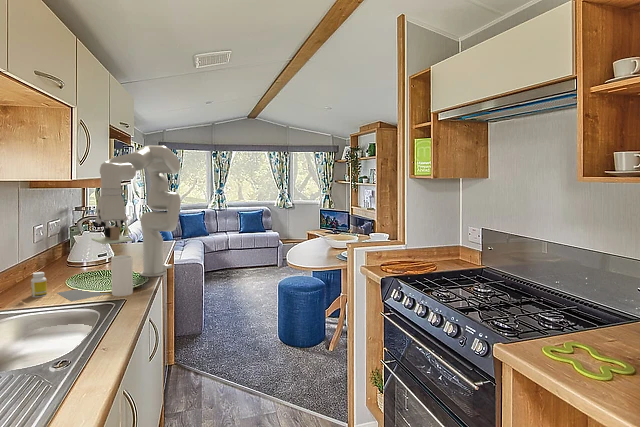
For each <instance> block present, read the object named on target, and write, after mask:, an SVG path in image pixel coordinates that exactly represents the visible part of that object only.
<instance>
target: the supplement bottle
mask: <svg viewBox="0 0 640 427" xmlns="http://www.w3.org/2000/svg"><path fill="white" fill-rule="evenodd" d="M32 277H33V278H31V279H30V290H31V291H30V292H31V298H42V297H45V296H47V295H48V286H47V284H48V283H47V278H46V277H45V272H44V271H37V272H33V273H32Z"/></svg>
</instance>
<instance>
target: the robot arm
mask: <svg viewBox="0 0 640 427" xmlns="http://www.w3.org/2000/svg"><path fill="white" fill-rule="evenodd" d="M179 159H180V158H178V157H177V155H176V154H175V153H174V152H173V151H172V150H171V149H170V148H168V147H167V146H165V145H145V146H142V147H140V148H138V149H137V150H135V151H133V152H131V153H126V154H123V155H119V156H115V157H111V158H109V159H107V160H105V161H104V162H102V163H101V164H100V167H99V174H100V195H99V197H98V200H97V208H96V218H95V221H94V222H95V223H97V224H98V225H99V224H100V225H101V226H102V227H103V228H104V229H103V230H104V232H103V233H104V237H105V236H106V237H108V238H109V237H110V228H109V226H110V221H114V226H115V227H119V235H120V234H121V232H120V231H121V226H122V225H123V224H124V223H125V222H127V221H128V220H129V218H128V217H127V214H126V206H125V205H126V204H125V200H124V196H123V195H122V194H124V193H125V190H124V189H122V181H131V180H132V179H135V177H136V174H137V172H138V171H142V170H144V169H145V168H146V171H147V173H148V175H149V178H150V189H149V192H148V198H147V207H148V208H149V209H151V210H155V211H146V212H144V213H142V215H140V216H141V217H140V226H141V227H140V228H141V231H142V262H143V263H142V266H143V267H142V268H143V270H141V271H140V272H139V276H141V277H148V278H149V277H150V278H155V277H162V276H165V275H166V274H167V272H168V271H167V269H172V268H173V265H172V263H171V264H165V263H164V239H163V236H162V234H161V232H171V233H172V232H174V231H176V229H177V227H178V221H179V216H180V210H181V204H182V203H181V202H182V201H181V197H180V194H178V192H176V191H175V192H173V191H169V185H170V184H169V181H168V179H167V177H166V176H165V174H177V173H179V171H180V170H181V162H180V160H179ZM165 211H166V212H165Z"/></svg>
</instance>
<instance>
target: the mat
mask: <svg viewBox="0 0 640 427" xmlns="http://www.w3.org/2000/svg"><path fill="white" fill-rule="evenodd" d="M78 289H79V288H76V289H71V290H66V291H60V292H56V294H57V295H60V296H61V297H63V298H64V299H67V300H68V301H70V302H75V301H81V300H85V299H91V298H94V297H101V296H105V295H110V294H111V295H112V292H110V293H100V292H88V291H82V290H78Z"/></svg>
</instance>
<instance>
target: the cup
mask: <svg viewBox="0 0 640 427" xmlns="http://www.w3.org/2000/svg"><path fill="white" fill-rule="evenodd" d="M110 260H111V261H110V262H111V263H110V264H111V265H110V268H111V271H110V272H111V293H112V294H111V295H112V296H114V297H125V296H130V295H132V294H134V282H133V281H134V278H133V274H134V273H133V271H134V269H133V256H132V255H127V254H126V255H125V254H124V255H123V254H122V255H114V256H112V257H111V258H110Z"/></svg>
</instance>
